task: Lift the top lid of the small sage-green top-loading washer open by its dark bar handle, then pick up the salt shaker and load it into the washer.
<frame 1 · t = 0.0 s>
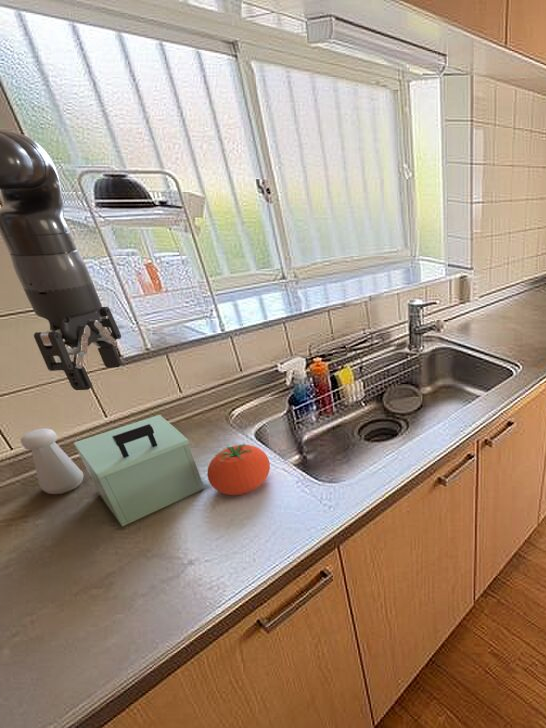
hand: (99, 377, 71), 24 cm above the counter, tool pointing down, fingers open, 8 cm apart
washer lid: (128, 433, 74), point 14 cm above the counter, hinge at 0.0°
washer: (154, 494, 80), on the counter
salt shaker: (67, 490, 81), on the counter
tomato: (245, 488, 83), on the counter
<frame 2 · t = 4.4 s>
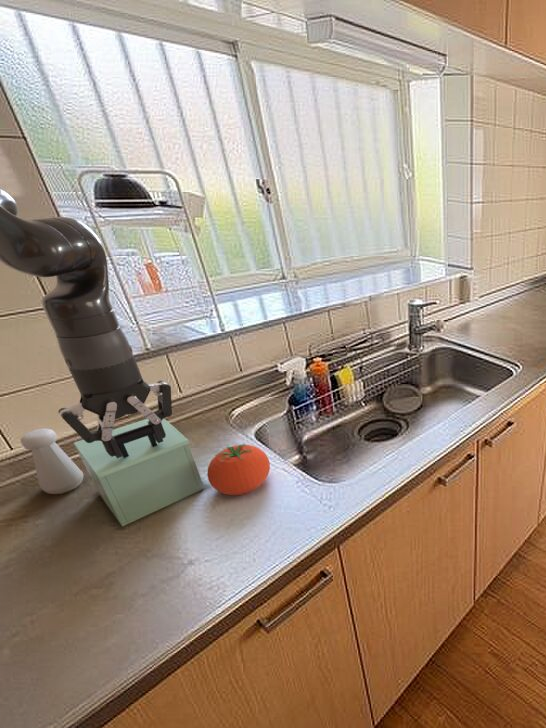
hand: (139, 447, 72), 13 cm above the counter, tool pointing down, fingers closed on washer lid, 5 cm apart
washer lid: (128, 433, 74), point 14 cm above the counter, hinge at -0.1°, touching gripper
everything else where it was.
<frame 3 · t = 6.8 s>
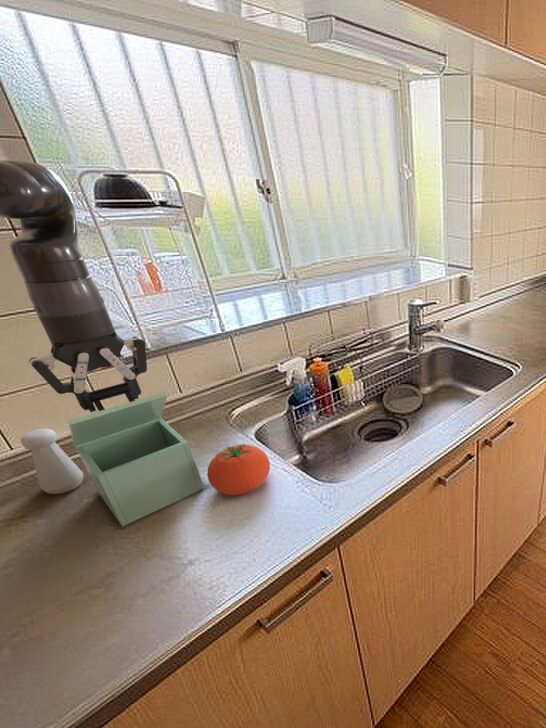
hand: (113, 403, 72), 20 cm above the counter, tool pointing down, fingers closed on washer lid, 5 cm apart
washer lid: (114, 408, 73), point 18 cm above the counter, hinge at 40.8°, touching gripper
everything else where it was.
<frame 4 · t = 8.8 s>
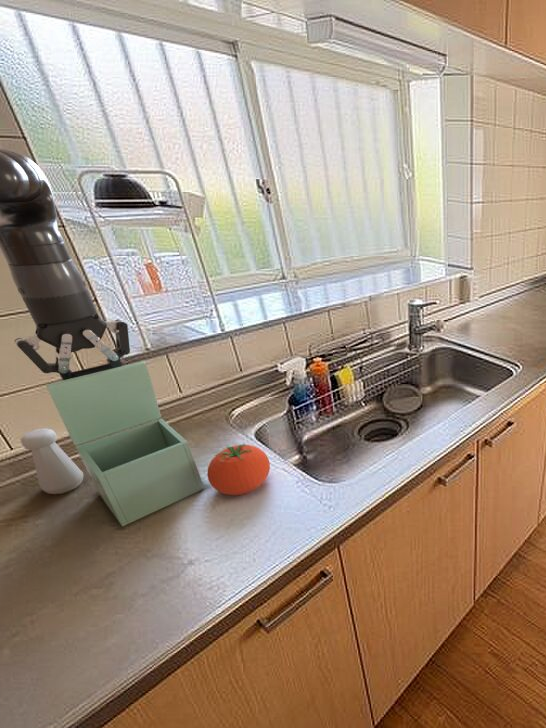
hand: (98, 383, 75), 21 cm above the counter, tool pointing down, fingers closed on washer lid, 5 cm apart
washer lid: (105, 396, 75), point 19 cm above the counter, hinge at 73.9°, touching gripper
everything else where it was.
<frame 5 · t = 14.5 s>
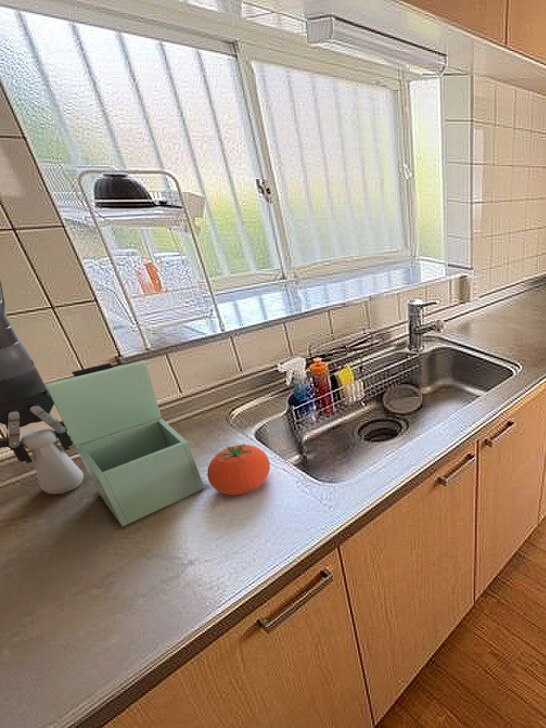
hand: (47, 454, 77), 8 cm above the counter, tool pointing down, fingers closed on salt shaker, 4 cm apart
washer lid: (104, 396, 75), point 19 cm above the counter, hinge at 74.7°
salt shaker: (67, 490, 81), on the counter, touching gripper
everything else where it was.
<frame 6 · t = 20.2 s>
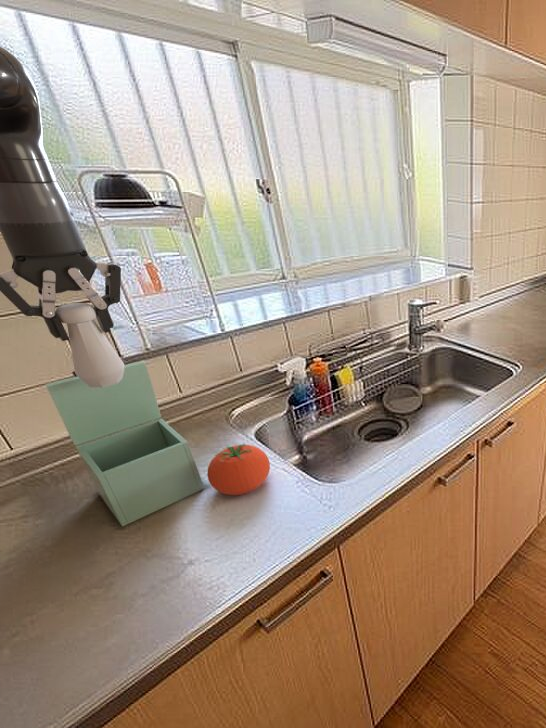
hand: (85, 334, 65), 33 cm above the counter, tool pointing down, fingers closed on salt shaker, 4 cm apart
salt shaker: (106, 383, 69), point 24 cm above the counter, touching gripper
everything else where it was.
when the fingers open (9 cm above the counter, at t = 26.0 s): salt shaker stays where it is, resting on washer.
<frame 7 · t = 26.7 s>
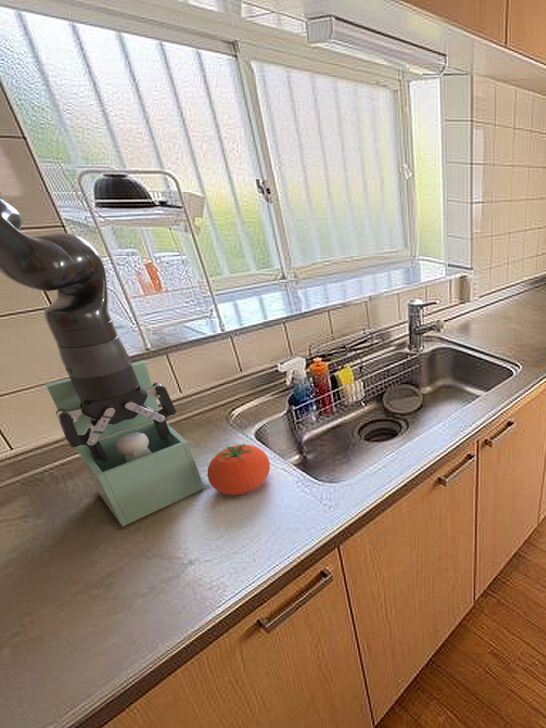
hand: (134, 448, 75), 11 cm above the counter, tool pointing down, fingers open, 8 cm apart
salt shaker: (155, 494, 80), point 1 cm above the counter, touching washer
everything else where it was.
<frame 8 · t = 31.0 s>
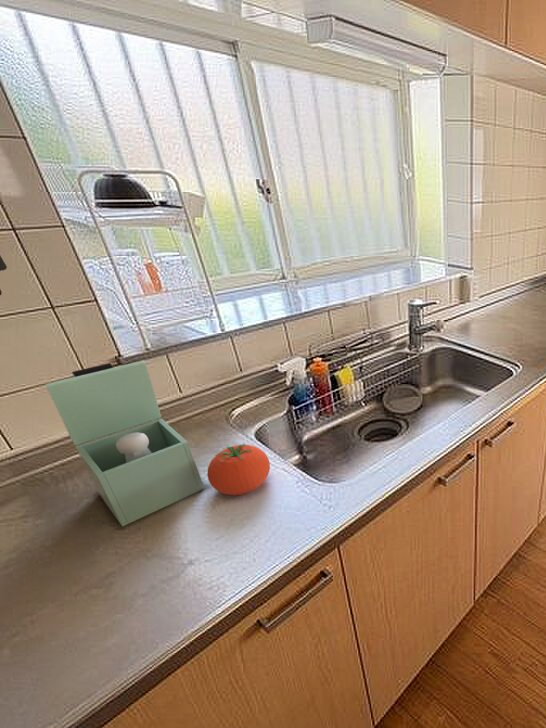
nothing on the counter moved.
at the end: washer lid at +75° (first picture: +0°); salt shaker inside the target area in the washer (0.9 cm from its centre), point 0.6 cm above the washer's base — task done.
